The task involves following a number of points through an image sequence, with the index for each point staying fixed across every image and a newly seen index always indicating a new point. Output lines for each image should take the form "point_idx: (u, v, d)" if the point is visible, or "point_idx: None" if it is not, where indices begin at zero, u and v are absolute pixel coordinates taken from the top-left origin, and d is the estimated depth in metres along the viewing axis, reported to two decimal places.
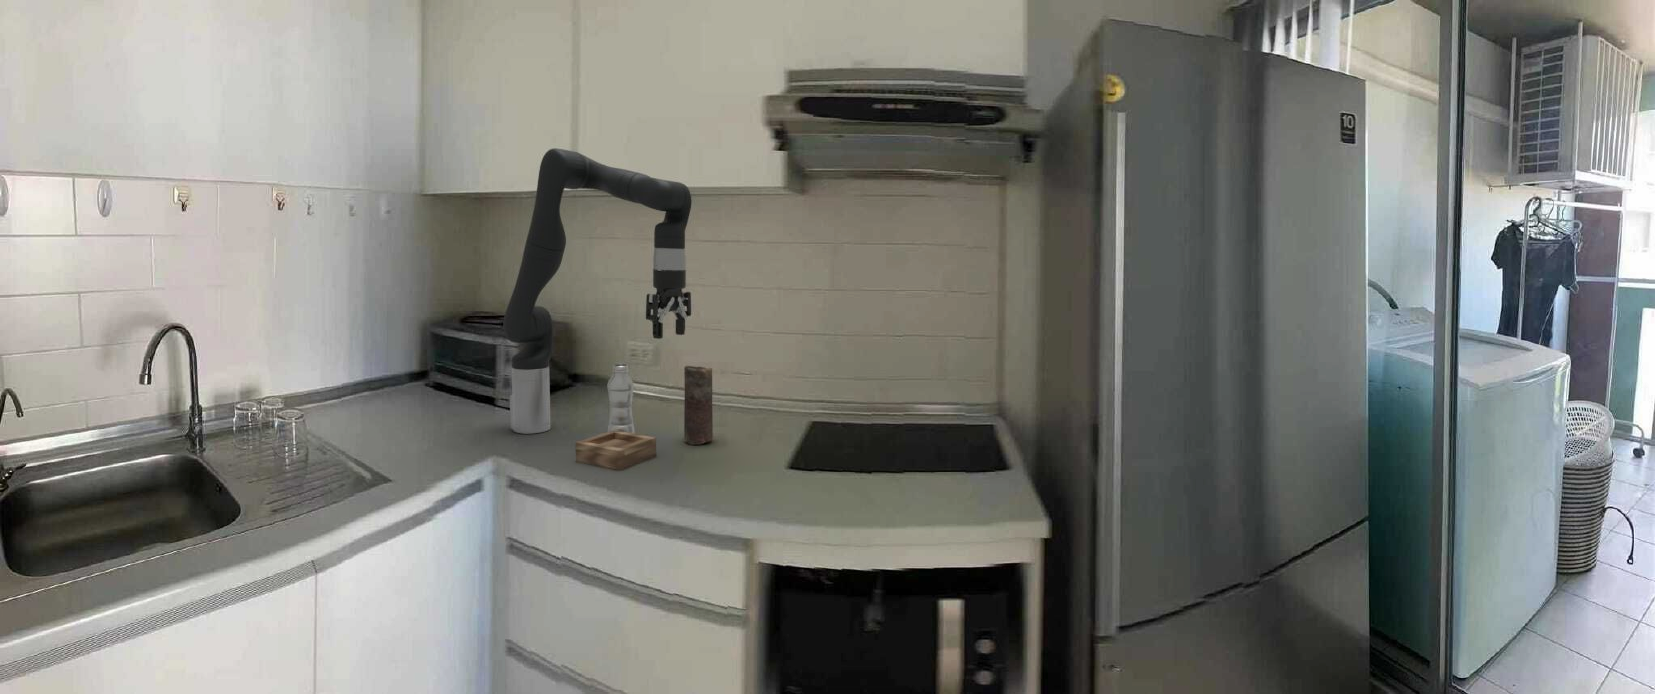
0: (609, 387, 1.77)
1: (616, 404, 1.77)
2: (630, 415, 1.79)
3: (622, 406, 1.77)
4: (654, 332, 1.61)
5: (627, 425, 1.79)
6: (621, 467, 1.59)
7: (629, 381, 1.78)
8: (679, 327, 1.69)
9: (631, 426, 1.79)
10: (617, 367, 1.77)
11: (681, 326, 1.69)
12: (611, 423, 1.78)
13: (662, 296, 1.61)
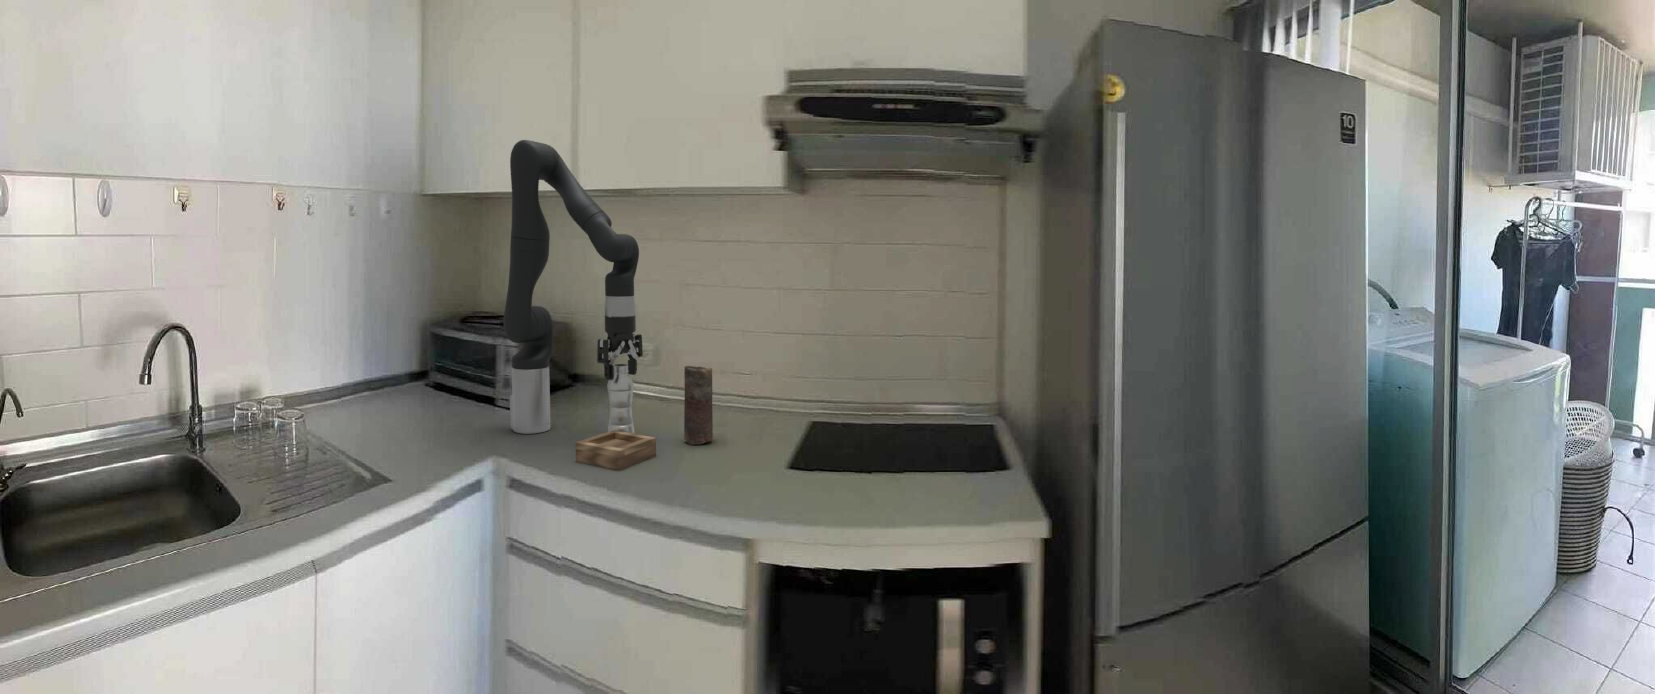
0: (609, 387, 1.77)
1: (616, 404, 1.77)
2: (630, 415, 1.79)
3: (622, 406, 1.77)
4: (606, 374, 1.74)
5: (627, 425, 1.79)
6: (621, 467, 1.59)
7: (629, 381, 1.78)
8: (631, 367, 1.82)
9: (631, 426, 1.79)
10: (617, 367, 1.77)
11: (633, 366, 1.82)
12: (611, 423, 1.78)
13: (612, 341, 1.73)
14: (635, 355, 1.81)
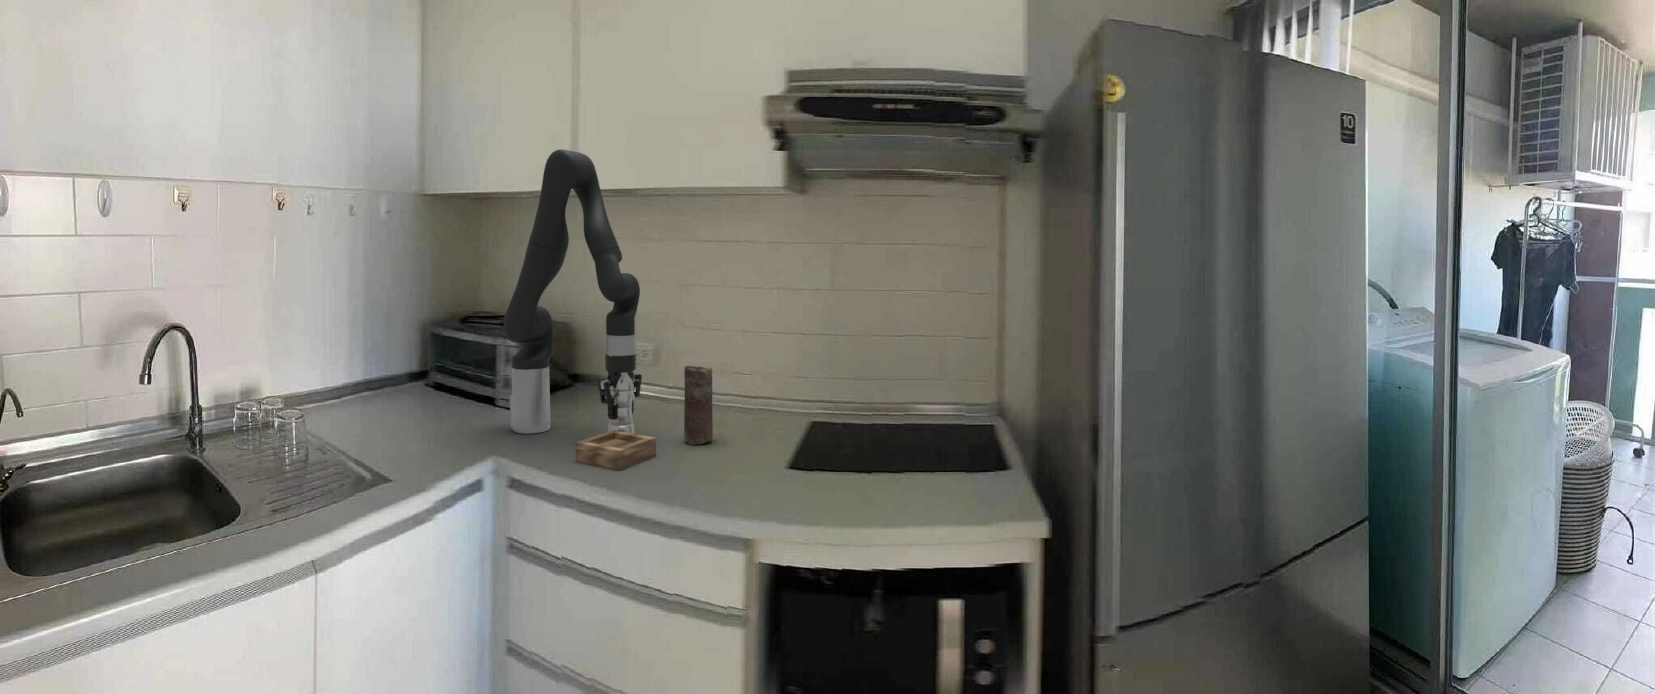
0: None
1: (616, 404, 1.77)
2: (630, 415, 1.79)
3: (622, 406, 1.77)
4: (609, 414, 1.76)
5: (627, 425, 1.79)
6: (621, 467, 1.59)
7: (628, 381, 1.78)
8: None
9: (631, 426, 1.80)
10: None
11: None
12: (611, 423, 1.78)
13: (613, 380, 1.75)
14: None
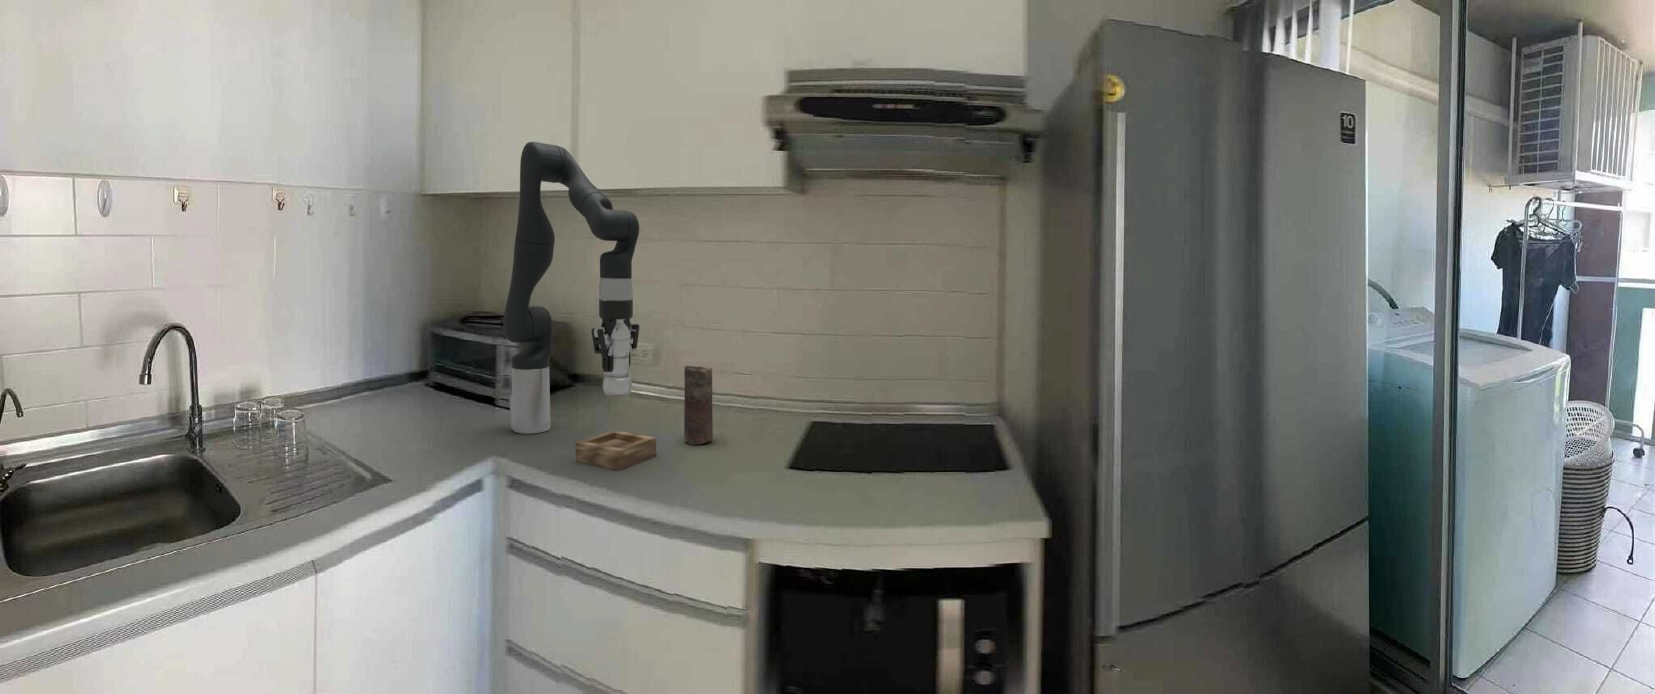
0: (604, 336, 1.60)
1: (612, 355, 1.61)
2: (627, 367, 1.63)
3: (618, 358, 1.61)
4: (604, 365, 1.60)
5: (623, 378, 1.62)
6: (621, 467, 1.59)
7: (625, 329, 1.61)
8: None
9: (628, 380, 1.63)
10: None
11: None
12: (606, 376, 1.62)
13: (607, 328, 1.58)
14: None
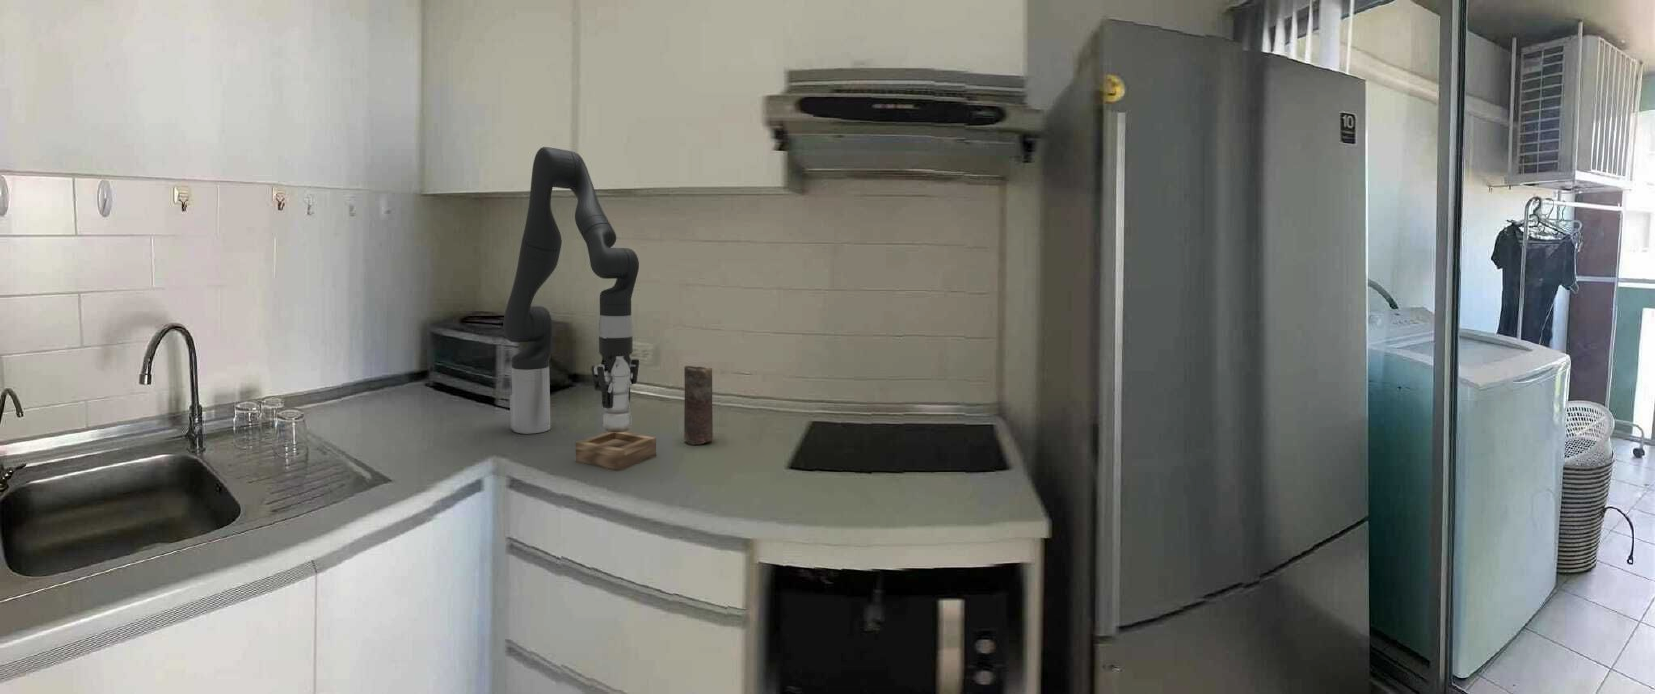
0: None
1: (611, 391, 1.62)
2: (627, 403, 1.64)
3: (617, 394, 1.62)
4: (603, 402, 1.61)
5: (623, 414, 1.63)
6: (621, 467, 1.59)
7: (625, 366, 1.63)
8: None
9: (628, 415, 1.64)
10: None
11: None
12: (606, 412, 1.63)
13: (607, 365, 1.59)
14: None
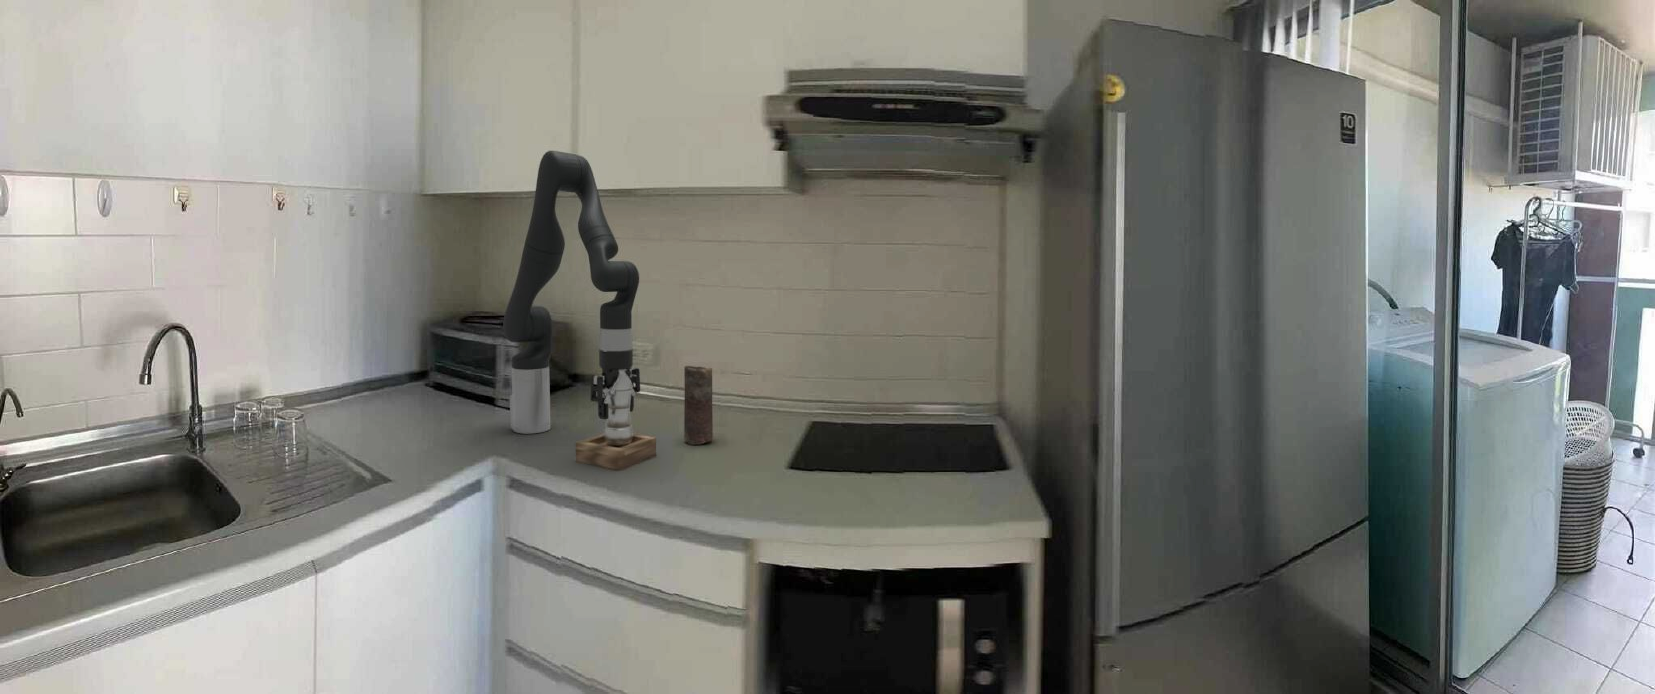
0: None
1: (613, 405, 1.63)
2: (628, 417, 1.65)
3: (619, 408, 1.63)
4: (600, 413, 1.60)
5: (625, 428, 1.64)
6: (621, 467, 1.59)
7: (627, 380, 1.64)
8: None
9: (629, 429, 1.65)
10: None
11: None
12: (608, 426, 1.64)
13: (607, 377, 1.60)
14: (632, 391, 1.68)
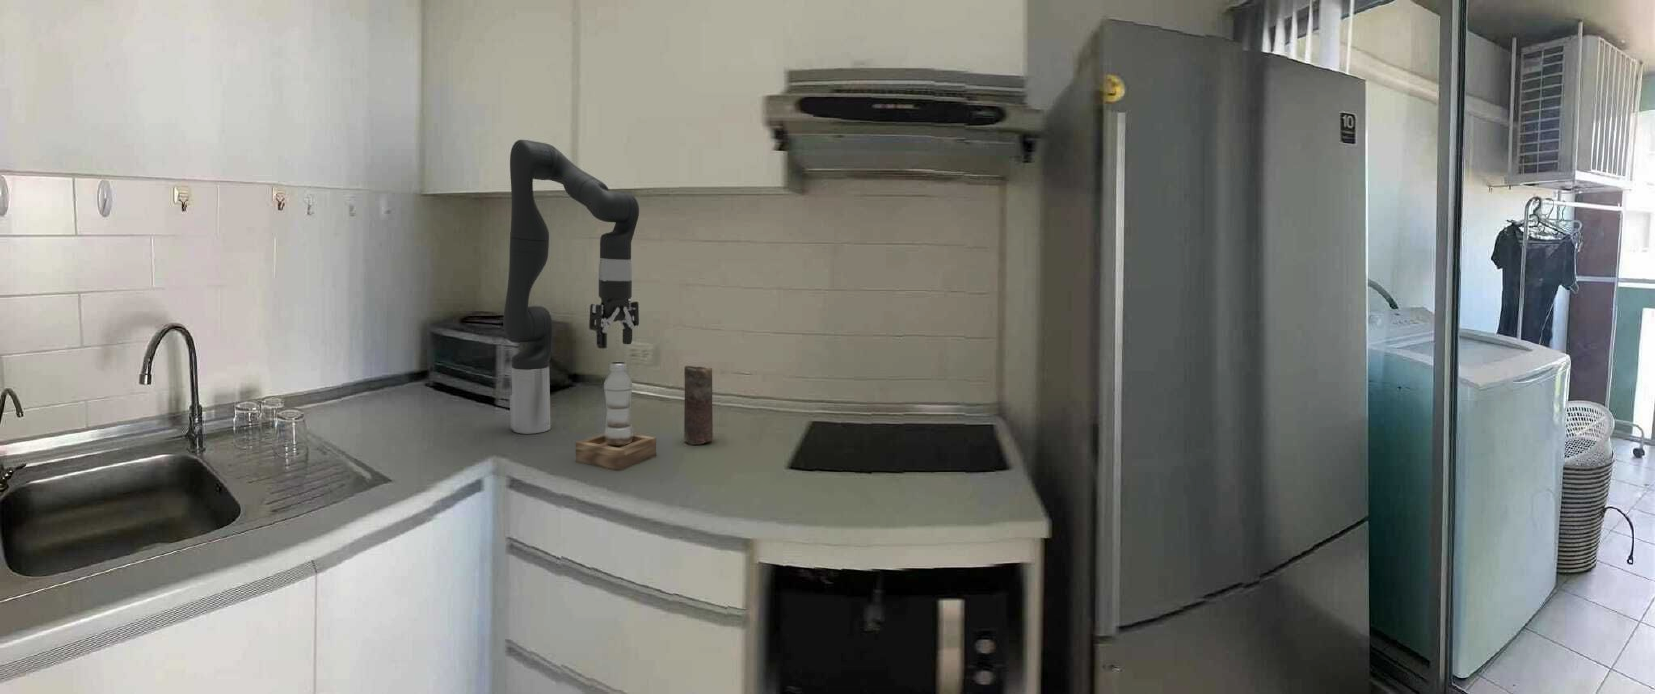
0: (606, 387, 1.63)
1: (613, 405, 1.63)
2: (628, 417, 1.65)
3: (619, 408, 1.63)
4: (598, 342, 1.62)
5: (625, 428, 1.65)
6: (621, 467, 1.59)
7: (627, 380, 1.64)
8: (626, 336, 1.70)
9: (629, 429, 1.65)
10: (614, 365, 1.62)
11: (628, 336, 1.70)
12: (608, 426, 1.64)
13: (606, 306, 1.62)
14: (630, 323, 1.70)
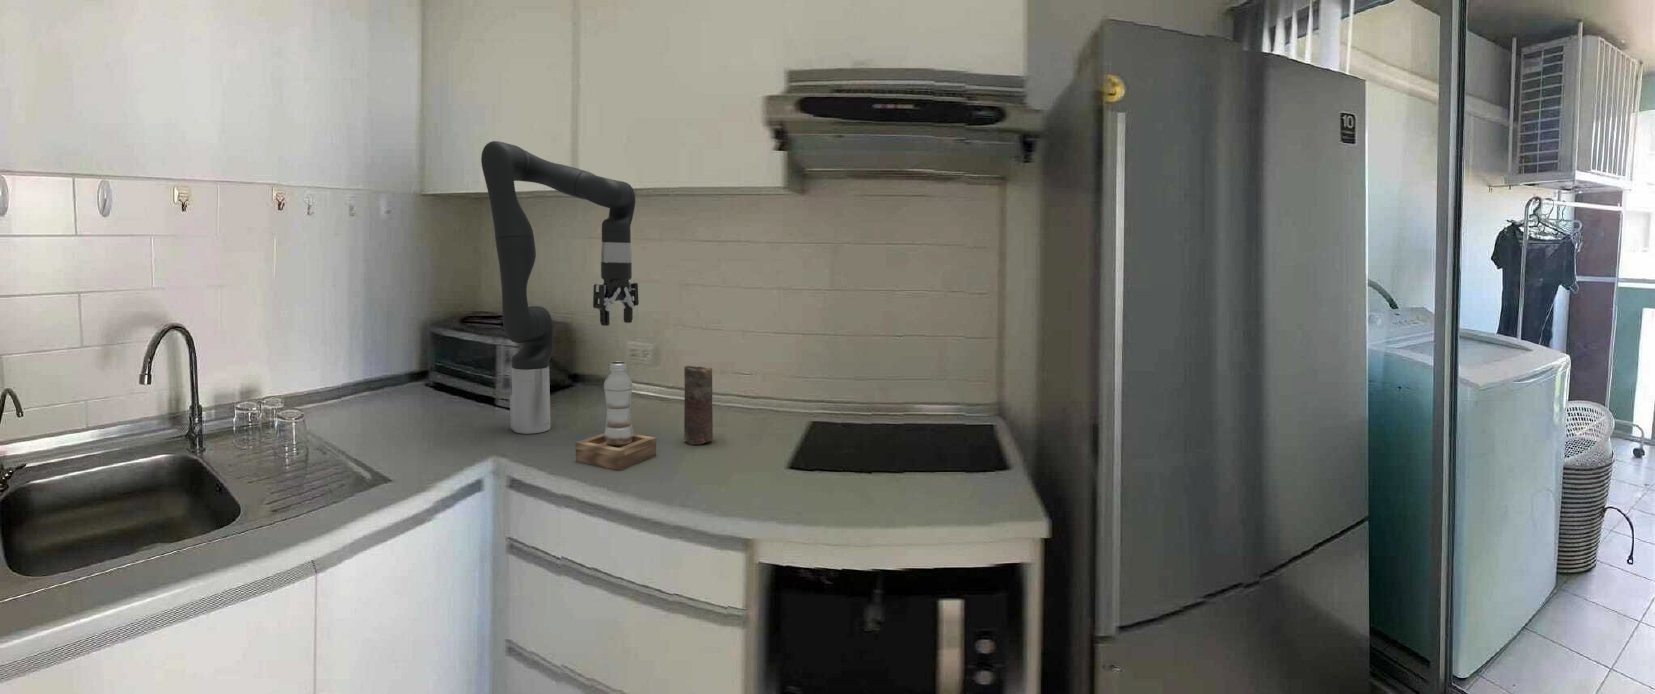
0: (606, 387, 1.63)
1: (613, 405, 1.63)
2: (628, 417, 1.65)
3: (619, 408, 1.63)
4: (601, 320, 1.75)
5: (625, 428, 1.65)
6: (621, 467, 1.59)
7: (627, 380, 1.64)
8: (627, 315, 1.83)
9: (629, 429, 1.65)
10: (614, 365, 1.62)
11: (628, 314, 1.83)
12: (608, 426, 1.64)
13: (608, 286, 1.75)
14: (631, 303, 1.82)
